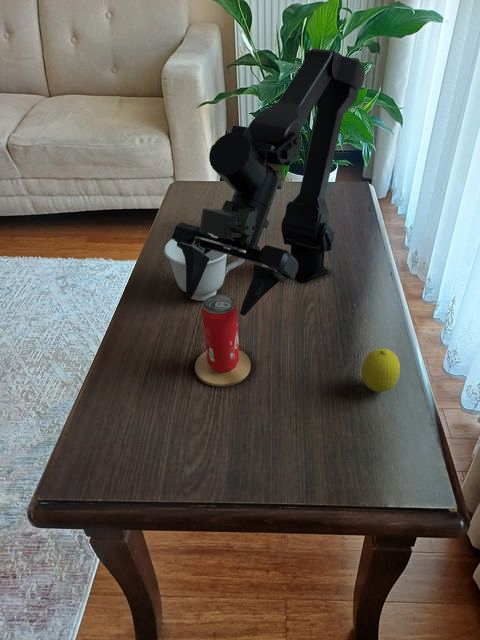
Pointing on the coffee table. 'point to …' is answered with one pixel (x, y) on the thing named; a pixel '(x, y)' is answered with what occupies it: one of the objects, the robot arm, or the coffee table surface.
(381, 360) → the lemon
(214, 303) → the beverage can
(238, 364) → the trivet
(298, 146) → the robot arm
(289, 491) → the coffee table surface
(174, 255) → the teacup
